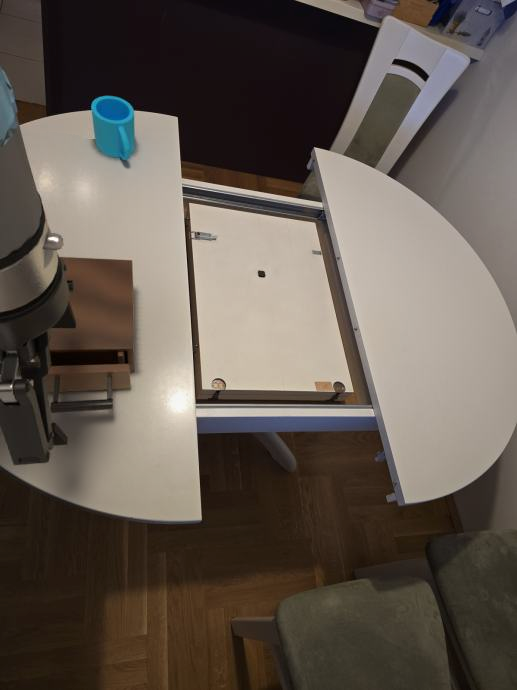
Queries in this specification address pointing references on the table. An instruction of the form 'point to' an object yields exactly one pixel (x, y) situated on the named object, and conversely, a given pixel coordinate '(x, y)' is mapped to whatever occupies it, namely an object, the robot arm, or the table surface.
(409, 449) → the table surface
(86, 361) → the drawer
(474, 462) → the table surface
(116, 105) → the mug
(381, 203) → the table surface
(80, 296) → the cabinet
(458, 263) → the table surface
